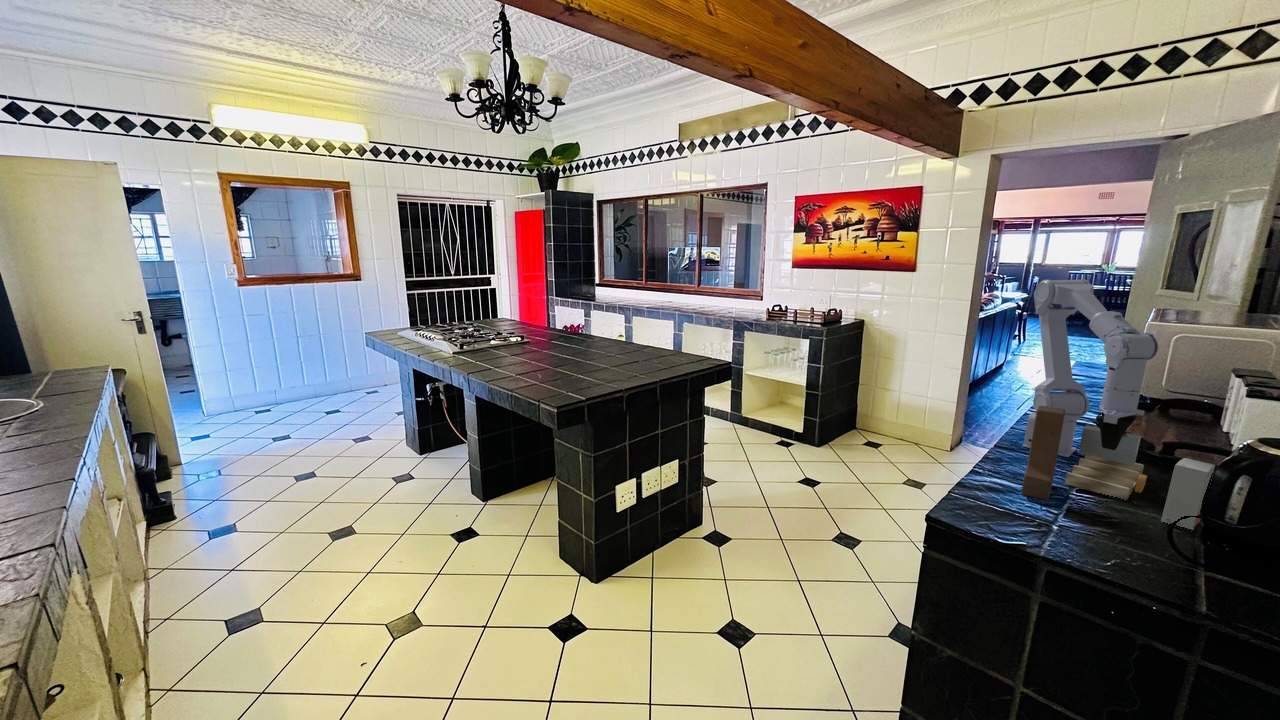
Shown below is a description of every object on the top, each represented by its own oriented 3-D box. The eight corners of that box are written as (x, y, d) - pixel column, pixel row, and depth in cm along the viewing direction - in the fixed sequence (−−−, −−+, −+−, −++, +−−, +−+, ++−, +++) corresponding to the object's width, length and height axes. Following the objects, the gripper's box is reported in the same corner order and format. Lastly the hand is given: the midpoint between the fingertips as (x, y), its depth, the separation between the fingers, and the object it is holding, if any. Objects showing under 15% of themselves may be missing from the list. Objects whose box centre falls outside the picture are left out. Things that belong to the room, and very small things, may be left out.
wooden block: (1047, 501, 102) (1062, 419, 98) (1020, 494, 105) (1034, 415, 101) (1051, 486, 109) (1065, 408, 105) (1026, 480, 112) (1038, 404, 108)
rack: (1064, 483, 110) (1066, 472, 109) (1084, 461, 120) (1086, 451, 120) (1135, 503, 101) (1137, 491, 100) (1149, 477, 112) (1152, 466, 111)
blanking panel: (1078, 452, 113) (1083, 428, 112) (1081, 449, 115) (1086, 425, 113) (1132, 465, 106) (1138, 439, 105) (1135, 461, 108) (1140, 436, 106)
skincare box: (1192, 532, 90) (1208, 472, 88) (1160, 522, 94) (1173, 464, 91) (1201, 522, 93) (1216, 464, 91) (1169, 513, 97) (1182, 456, 94)
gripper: (1142, 398, 99) (1129, 461, 102) (1153, 385, 108) (1141, 443, 111) (1095, 391, 104) (1084, 450, 107) (1110, 379, 113) (1099, 435, 116)
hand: (1110, 446), depth 109 cm, fingers closed on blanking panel, 3 cm apart
